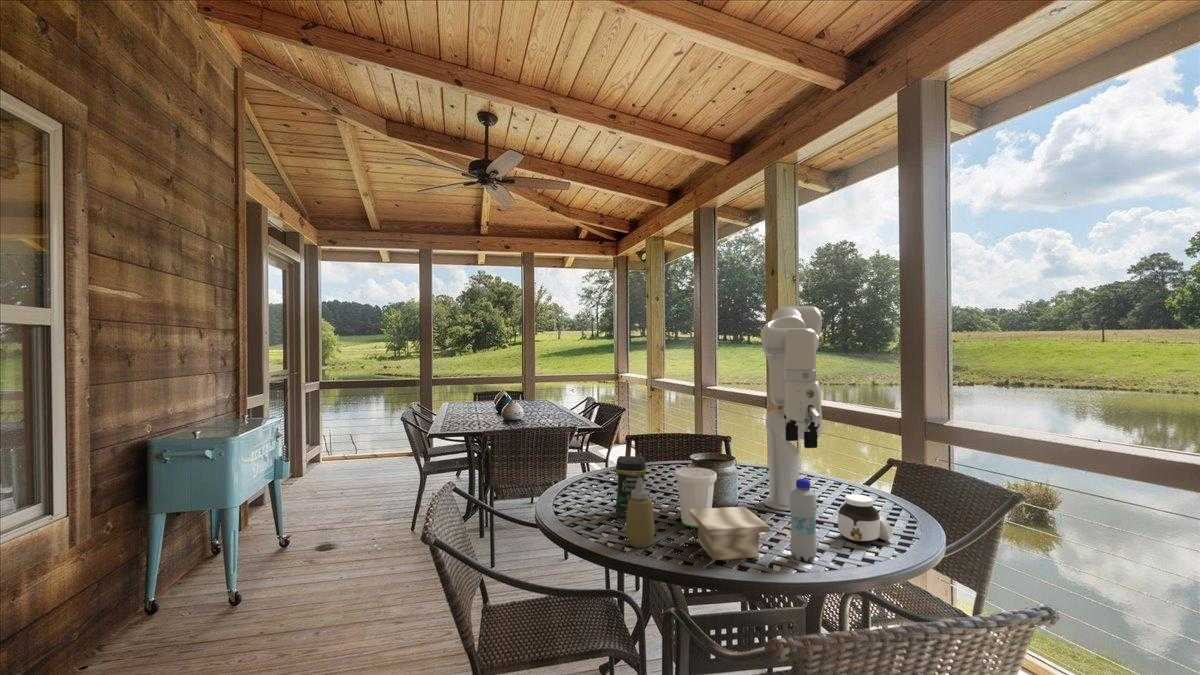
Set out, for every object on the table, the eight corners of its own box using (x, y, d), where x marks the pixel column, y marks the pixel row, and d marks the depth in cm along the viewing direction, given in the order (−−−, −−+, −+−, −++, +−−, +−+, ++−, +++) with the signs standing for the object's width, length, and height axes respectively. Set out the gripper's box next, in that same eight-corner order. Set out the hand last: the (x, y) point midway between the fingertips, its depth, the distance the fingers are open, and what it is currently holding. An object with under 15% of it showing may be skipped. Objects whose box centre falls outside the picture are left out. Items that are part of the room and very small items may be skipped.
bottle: (813, 552, 141) (812, 475, 141) (821, 563, 134) (820, 482, 134) (786, 552, 141) (786, 475, 141) (793, 562, 135) (792, 482, 135)
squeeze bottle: (625, 538, 152) (624, 474, 152) (654, 538, 151) (653, 474, 151) (625, 550, 144) (625, 482, 144) (656, 550, 143) (655, 482, 143)
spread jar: (834, 538, 151) (833, 496, 151) (855, 529, 158) (855, 489, 158) (877, 551, 141) (877, 506, 141) (898, 541, 148) (897, 498, 148)
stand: (744, 536, 152) (744, 506, 152) (769, 559, 137) (769, 526, 137) (689, 540, 150) (689, 509, 150) (708, 563, 134) (707, 529, 134)
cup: (723, 528, 159) (723, 476, 159) (682, 531, 157) (682, 478, 157) (708, 515, 171) (707, 466, 171) (670, 517, 169) (669, 468, 169)
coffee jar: (614, 518, 168) (613, 458, 168) (617, 510, 176) (616, 453, 176) (645, 520, 167) (645, 459, 167) (647, 511, 175) (646, 454, 175)
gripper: (832, 378, 130) (833, 450, 130) (797, 374, 147) (798, 437, 147) (803, 379, 129) (803, 451, 129) (771, 374, 146) (771, 438, 146)
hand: (800, 444), depth 138 cm, fingers open, 9 cm apart
